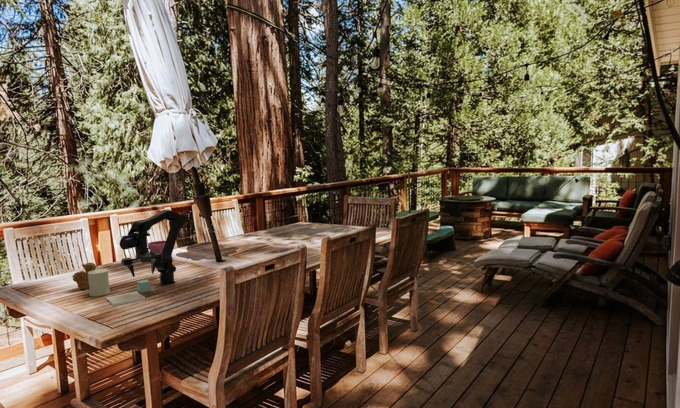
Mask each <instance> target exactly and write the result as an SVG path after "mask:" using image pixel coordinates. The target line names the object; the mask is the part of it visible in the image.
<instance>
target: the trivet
mask: <svg viewBox="0 0 680 408" xmlns="http://www.w3.org/2000/svg"><path fill="white" fill-rule="evenodd" d="M105 299H106V300H107V301H108V302H109V303H110V304H111V305H112V306H113V307H116V306H120V305H124V304H130V303H134V302H138V301H142V300H146V297H145V296H144V295H143V294H142V293H140V292H139V291H138V290H136V291H132V292H126V293H122V294H116V295H111V296H106V298H105Z"/></svg>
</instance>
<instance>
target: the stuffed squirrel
mask: <svg viewBox="0 0 680 408" xmlns="http://www.w3.org/2000/svg"><path fill="white" fill-rule="evenodd" d="M81 266H82V267H83V268H84V270H80V271H77V272H75V273H74V274H73V275H72V276H71V278H72V280H73V282H75V283H76V284H77V287H78V289H80V290H82V291H85V290H88V289H89V280H88V272H89V271H93V270H98V269H99V267H98V265H96V264H95V263H93V262H86V263H85V264H84V263H82V264H81Z"/></svg>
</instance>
